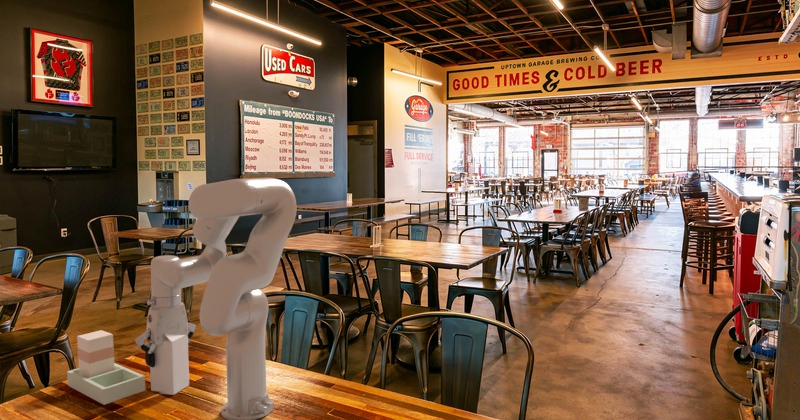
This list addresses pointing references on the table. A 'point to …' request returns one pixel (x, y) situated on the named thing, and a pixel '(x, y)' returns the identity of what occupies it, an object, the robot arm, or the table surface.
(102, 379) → the crate
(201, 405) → the table surface
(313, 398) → the table surface
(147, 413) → the table surface
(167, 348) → the milk carton
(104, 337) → the oat carton
